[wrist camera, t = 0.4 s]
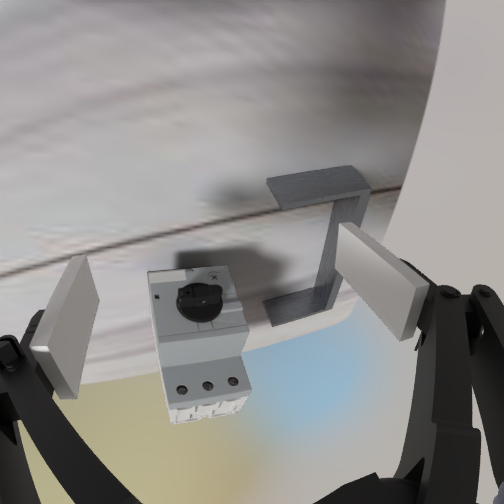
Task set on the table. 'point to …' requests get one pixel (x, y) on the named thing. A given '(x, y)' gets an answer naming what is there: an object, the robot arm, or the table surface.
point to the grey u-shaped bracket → (344, 210)
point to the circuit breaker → (199, 341)
